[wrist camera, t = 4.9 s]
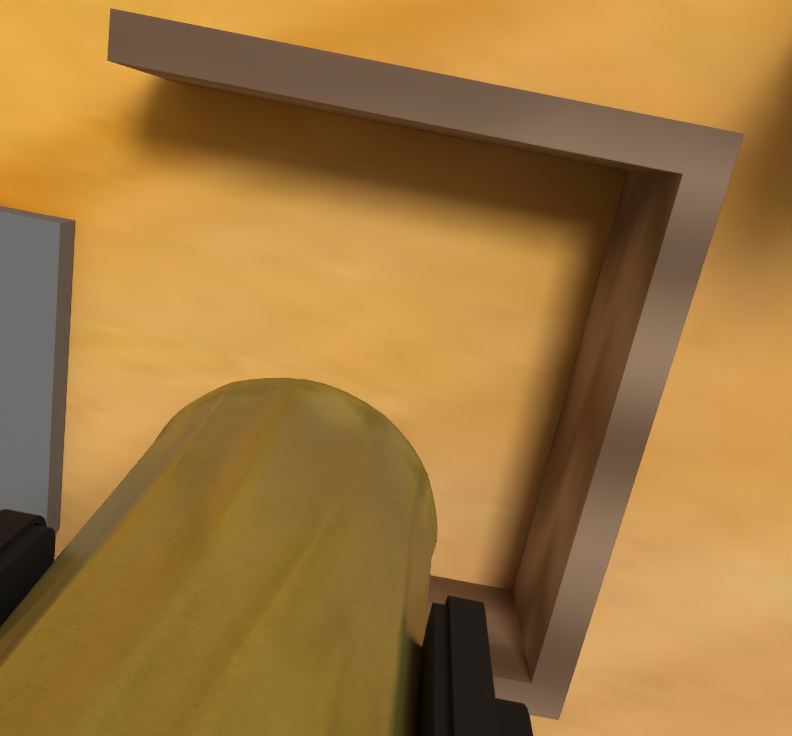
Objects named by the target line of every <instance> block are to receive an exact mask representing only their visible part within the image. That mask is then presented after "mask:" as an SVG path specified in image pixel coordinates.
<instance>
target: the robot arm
mask: <svg viewBox="0 0 792 736" xmlns="http://www.w3.org/2000/svg"><path fill="white" fill-rule="evenodd" d="M54 556H55V531H54V529H53V528H50V527H46V521H45V518H44V517H42V516H40V515H35V514H30V513H25V512H19V511H14V510H9V509H2V510H1V511H0V627H1V626H2V625H3V623H4V622H5V621H6V620H7V619H8V617H9V616H10V615H11V614H12V612H13V611H14V610H15V609H16V608H17V606H18V605H19V604H20V603H21V601H22V600H23V599H24V598H25V596H26V595H27V594H28V593H29V592H30V590H31V589H32V588H33V587H34V585H35V584H36V583H37V582H38V581H39V579H40V578H41V577H42V576H43V575H44V573H45V572H46V571H47V570H48V568H49V567H50V566H51V565H52V563H53V562H54ZM417 736H533V733H532V727H531V721H530V716H529V712H528V708H527V707H526V705H525V704H524V703H519V702H514V701H509V700H504V699H498V698H495V690H494V681H493V673H492V664H491V655H490V647H489V638H488V629H487V621H486V612H485V605H484V603H483V602H480V601H475V600H470V599H465V598H460V597H455V596H450V595H448V596H447V599H446V601H445V604H439V603H434V602H433V603H432V606H431V610H430V614H429V618H428V622H427V627H426V631H425V635H424V639H423V644H422V655H421V673H420V689H419V706H418V727H417Z"/></svg>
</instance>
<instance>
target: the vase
mask: <svg viewBox="0 0 792 736" xmlns="http://www.w3.org/2000/svg"><path fill="white" fill-rule="evenodd" d="M436 543H437V518H436V509H435V504H434V499H433V493H432V489H431V486H430V482H429V478H428V475H427V472H426V470H425V468H424V466H423V464H422V462H421V460H420V458H419V456H418V455H417V453H416V452H415V450H414V449H413V447H412V446H411V444H410V443H409V441H408V440H407V439H406V438H405V437H404V435H403V434H402V433H401V432H400V431H399V429H398V428H397V427H396V426H395V425H394V424H393V423H392V422H391V421H390V420H389V419H388V418H387V417H386V416H385V415H384V414H382V413H381V412H379V411H378V410H376V409H375V408H373V407H372V406H370V405H369V404H367V403H366V402H364V401H362V400H360V399H358V398H357V397H355V396H353V395H351V394H349V393H347V392H345V391H343V390H340V389H337V388H335V387H332V386H329V385H326V384H323V383H319V382H314V381H310V380H306V379H293V378H264V379H251V380H244V381H238V382H232V383H230V384H227V385H225V386H222V387H220V388H217V389H215V390H214V391H212V392H210V393H208V394H206V395H204V396H202V397H200V398H199V399H197V400H195V401H193V402H192V403H190V404H189V405H187V406H186V407H184V408H183V409H181V410H180V411H179V412H178V413H177V414H176V415H175V416H174V417H173V418H172V419H171V420H170V421H169V422H168V424H167V425H166V426H165V427H164V428H163V430H162V431H161V433H160V434H159V436H158V437H157V439H156V440H155V442H154V444H153V445H152V446H151V447H150V448H149V449H148V451H147V452H146V453H145V454H144V455H143V457H142V458H141V459H140V460H139V461H138V462H137V464H136V465H135V466H134V467H133V469H132V470H131V471H130V472H129V473H128V475H127V476H126V477H125V478H124V479H123V481H122V482H121V483H120V484H119V485H118V487H117V488H116V489H115V490H114V491H113V493H112V494H111V495H110V496H109V497H108V499H107V500H106V501H105V502H104V503H103V504H102V506H101V507H100V508H99V509H98V510H97V511H96V512H95V513H94V515H93V516H92V517H91V518H90V519H89V521H88V522H87V523H86V524H85V525H84V526H83V528H82V529H81V530H80V532H79V533H78V534H77V535H76V537H75V538H74V539H73V540H72V541H71V542H70V543H69V544H68V546H67V547H66V548H65V549H64V550H63V551H62V553H61V554H60V555H59V556H58V557H57V559H56V560H55V561H54V562H53V563H52V565H51V566H50V567H49V568H48V570H47V571H46V572H45V573H44V575H43V576H42V577H41V578H40V579H39V581H38V582H37V583H36V584H35V585H34V587H33V588H32V589H31V590H30V592H29V593H28V594H27V595H26V596H25V598H24V599H23V600H22V601H21V603H20V604H19V605H18V606H17V608H16V609H15V610H14V611H13V612H12V614H11V615H10V616H9V617H8V619H7V620H6V621H5V622H4V623H3V625H2V626H1V627H0V736H417V727H418V706H419V689H420V673H421V655H422V644H423V639H424V635H425V625H426V615H427V605H428V593H429V581H430V568H431V558H432V555H433V552H434V548H435V546H436Z"/></svg>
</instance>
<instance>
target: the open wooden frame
mask: <svg viewBox="0 0 792 736" xmlns="http://www.w3.org/2000/svg"><path fill="white" fill-rule="evenodd" d="M107 61H111V62H114V63H117V64H120V65H123V66H126V67H130V68H133V69H136V70H139V71H142V72H145V73H149V74H152V75H155V76H158V77H161V78H164V79H167V80H171V81H174V82H178V83H183V84H188V85H193V86H198V87H203V88H208V89H213V90H218V91H223V92H228V93H233V94H239V95H244V96H249V97H254V98H259V99H264V100H269V101H274V102H279V103H284V104H289V105H294V106H300V107H305V108H310V109H315V110H320V111H325V112H330V113H335V114H340V115H345V116H350V117H355V118H360V119H366V120H371V121H376V122H381V123H386V124H391V125H396V126H401V127H406V128H411V129H416V130H421V131H426V132H432V133H437V134H442V135H447V136H452V137H457V138H462V139H467V140H472V141H477V142H482V143H487V144H492V145H498V146H503V147H508V148H513V149H518V150H523V151H528V152H533V153H538V154H543V155H548V156H553V157H558V158H564V159H569V160H574V161H579V162H584V163H589V164H594V165H599V166H604V167H609V168H614V169H619V170H624V171H628V173H627V177H626V180H625V184H624V188H623V191H622V195H621V198H620V202H619V206H618V209H617V213H616V217H615V220H614V224H613V228H612V231H611V235H610V238H609V242H608V246H607V249H606V253H605V257H604V260H603V264H602V268H601V271H600V275H599V279H598V282H597V286H596V289H595V293H594V297H593V300H592V304H591V308H590V311H589V315H588V319H587V322H586V326H585V329H584V333H583V337H582V340H581V344H580V348H579V351H578V355H577V359H576V362H575V366H574V370H573V373H572V377H571V380H570V384H569V388H568V391H567V395H566V399H565V402H564V406H563V410H562V413H561V417H560V420H559V424H558V428H557V431H556V435H555V439H554V442H553V446H552V450H551V453H550V457H549V461H548V464H547V468H546V471H545V475H544V479H543V482H542V486H541V490H540V493H539V497H538V501H537V504H536V508H535V512H534V515H533V519H532V522H531V526H530V530H529V533H528V537H527V541H526V544H525V548H524V552H523V555H522V559H521V562H520V566H519V570H518V573H517V577H516V581H515V584H514V588H513V591H510V590H505V589H500V588H494V587H489V586H483V585H478V584H473V583H467V582H462V581H457V580H451V579H446V578H441V577H435V576H430V581H429V593H428V605H427V615H426V625H425V631H426V627H427V622H428V618H429V614H430V610H431V606H432V603H433V602H434V603H439V604H445V601H446V599H447V596H448V595H450V596H455V597H460V598H465V599H470V600H475V601H480V602H483V603H484V605H485V612H486V621H487V629H488V638H489V647H490V655H491V664H492V673H493V681H494V690H495V698H498V699H504V700H509V701H514V702H519V703H524V704H525V705H526V707H527V708H528V712H529V715H534V716H540V717H545V718H551V719H556V720H559V717H560V714H561V711H562V708H563V705H564V702H565V698H566V695H567V692H568V689H569V686H570V683H571V680H572V676H573V673H574V670H575V667H576V664H577V661H578V658H579V654H580V651H581V648H582V645H583V642H584V639H585V635H586V632H587V629H588V626H589V623H590V620H591V617H592V613H593V610H594V607H595V604H596V601H597V598H598V594H599V591H600V588H601V585H602V582H603V579H604V576H605V572H606V569H607V566H608V563H609V560H610V557H611V553H612V550H613V547H614V544H615V541H616V538H617V535H618V531H619V528H620V525H621V522H622V519H623V516H624V512H625V509H626V506H627V503H628V500H629V497H630V494H631V490H632V487H633V484H634V481H635V478H636V475H637V472H638V468H639V465H640V462H641V459H642V456H643V453H644V449H645V446H646V443H647V440H648V437H649V434H650V431H651V427H652V424H653V421H654V418H655V415H656V412H657V408H658V405H659V402H660V399H661V396H662V393H663V390H664V386H665V383H666V380H667V377H668V374H669V371H670V367H671V364H672V361H673V358H674V355H675V352H676V349H677V345H678V342H679V339H680V336H681V333H682V330H683V326H684V323H685V320H686V317H687V314H688V311H689V308H690V304H691V301H692V298H693V295H694V292H695V289H696V285H697V282H698V279H699V276H700V273H701V270H702V267H703V263H704V260H705V257H706V254H707V251H708V248H709V245H710V241H711V238H712V235H713V232H714V229H715V226H716V222H717V219H718V216H719V213H720V210H721V207H722V204H723V200H724V197H725V194H726V191H727V188H728V185H729V181H730V178H731V175H732V172H733V169H734V166H735V163H736V159H737V156H738V153H739V150H740V147H741V144H742V140H743V137H744V134H742V133H736V132H731V131H726V130H721V129H716V128H711V127H706V126H701V125H696V124H691V123H686V122H681V121H676V120H671V119H666V118H661V117H656V116H651V115H646V114H641V113H636V112H631V111H625V110H620V109H615V108H610V107H605V106H600V105H595V104H590V103H585V102H580V101H575V100H570V99H565V98H560V97H555V96H550V95H545V94H540V93H535V92H530V91H525V90H520V89H515V88H509V87H504V86H499V85H494V84H489V83H484V82H479V81H474V80H469V79H464V78H459V77H454V76H449V75H444V74H439V73H434V72H429V71H424V70H419V69H414V68H409V67H404V66H398V65H393V64H388V63H383V62H378V61H373V60H368V59H363V58H358V57H353V56H348V55H343V54H338V53H333V52H328V51H323V50H318V49H313V48H308V47H303V46H298V45H293V44H287V43H282V42H277V41H272V40H267V39H262V38H257V37H252V36H247V35H242V34H237V33H232V32H227V31H222V30H217V29H212V28H207V27H202V26H197V25H192V24H187V23H182V22H177V21H171V20H166V19H161V18H156V17H151V16H146V15H141V14H136V13H131V12H126V11H121V10H116V9H111V10H110V26H109V42H108V59H107Z"/></svg>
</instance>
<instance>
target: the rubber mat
mask: <svg viewBox="0 0 792 736" xmlns="http://www.w3.org/2000/svg"><path fill="white" fill-rule="evenodd" d="M74 233H75V221H74V220H69V219H64V218H59V217H54V216H49V215H43V214H38V213H33V212H28V211H23V210H18V209H12V208H7V207H2V206H0V511H1V510H2V509H9V510H14V511H19V512H25V513H30V514H35V515H40V516H42V517H44V518H45V521H46V527H50V528H53V529H54V531H55V533H56V532H57V531H58V530H59V524H60V504H61V485H62V465H63V446H64V427H65V407H66V388H67V368H68V349H69V330H70V310H71V291H72V271H73V252H74Z"/></svg>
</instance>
